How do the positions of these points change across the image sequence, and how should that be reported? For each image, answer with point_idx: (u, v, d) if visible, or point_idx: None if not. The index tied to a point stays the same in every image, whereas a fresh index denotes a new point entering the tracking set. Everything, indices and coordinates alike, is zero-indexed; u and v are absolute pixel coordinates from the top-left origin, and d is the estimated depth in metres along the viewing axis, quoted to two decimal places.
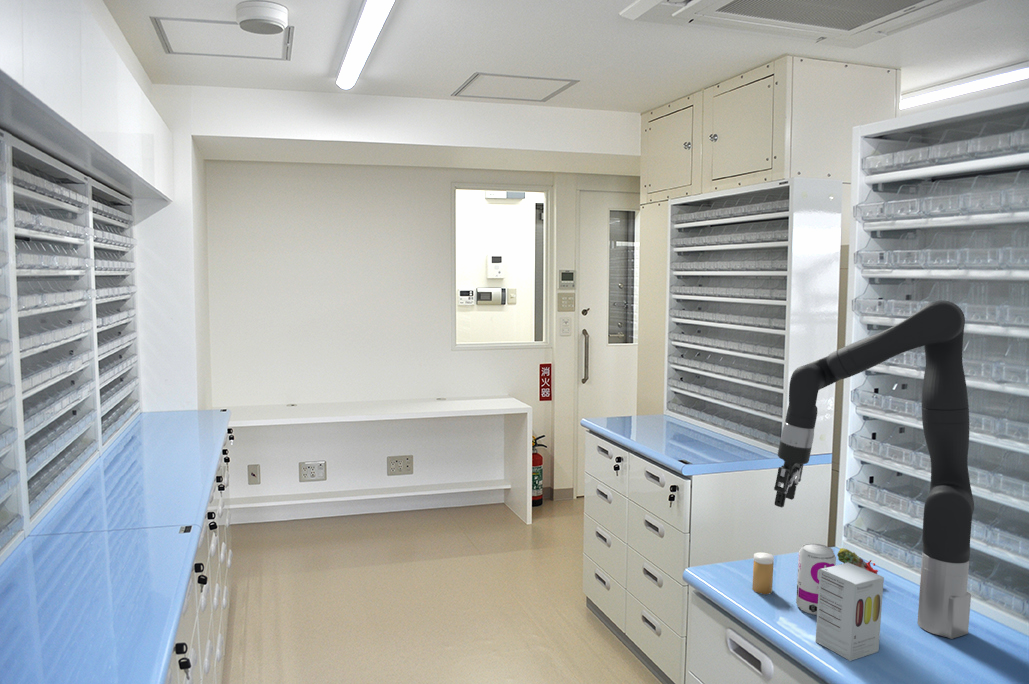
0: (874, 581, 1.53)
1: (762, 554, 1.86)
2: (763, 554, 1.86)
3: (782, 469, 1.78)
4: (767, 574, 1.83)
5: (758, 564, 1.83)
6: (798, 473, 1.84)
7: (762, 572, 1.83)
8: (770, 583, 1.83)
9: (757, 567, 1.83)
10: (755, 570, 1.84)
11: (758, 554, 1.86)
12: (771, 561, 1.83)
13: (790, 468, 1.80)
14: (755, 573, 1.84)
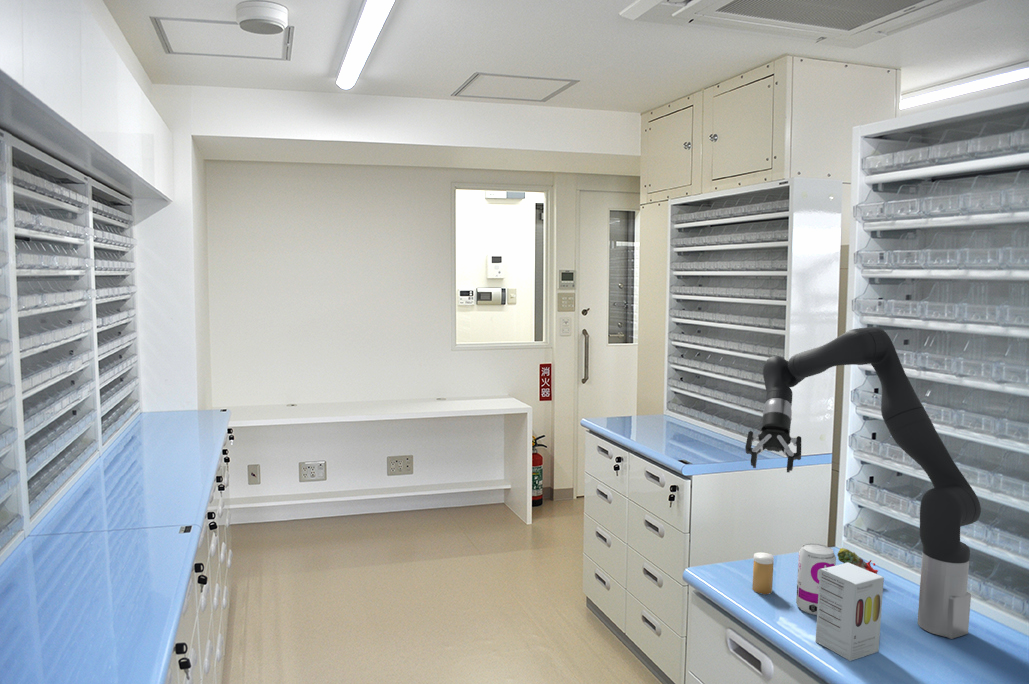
0: (874, 581, 1.53)
1: (762, 554, 1.86)
2: (763, 554, 1.86)
3: None
4: (767, 574, 1.83)
5: (758, 564, 1.83)
6: (778, 440, 1.96)
7: (762, 572, 1.83)
8: (770, 583, 1.83)
9: (757, 567, 1.83)
10: (755, 570, 1.84)
11: (758, 554, 1.86)
12: (771, 561, 1.83)
13: (759, 433, 2.00)
14: (755, 573, 1.84)
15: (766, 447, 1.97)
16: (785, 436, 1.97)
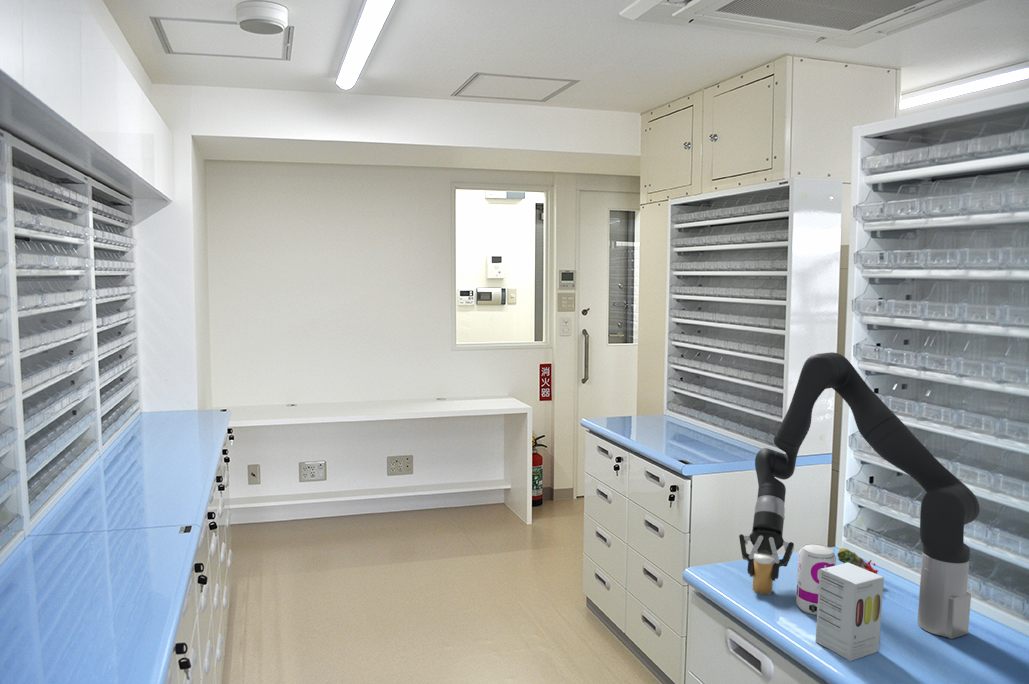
0: (874, 581, 1.53)
1: (762, 554, 1.86)
2: (763, 554, 1.86)
3: None
4: (767, 574, 1.83)
5: (758, 564, 1.83)
6: (769, 542, 1.87)
7: (762, 572, 1.83)
8: (770, 583, 1.83)
9: (757, 567, 1.83)
10: (755, 570, 1.84)
11: (758, 554, 1.86)
12: (771, 561, 1.83)
13: (750, 534, 1.91)
14: (755, 573, 1.84)
15: (761, 550, 1.87)
16: (778, 538, 1.88)
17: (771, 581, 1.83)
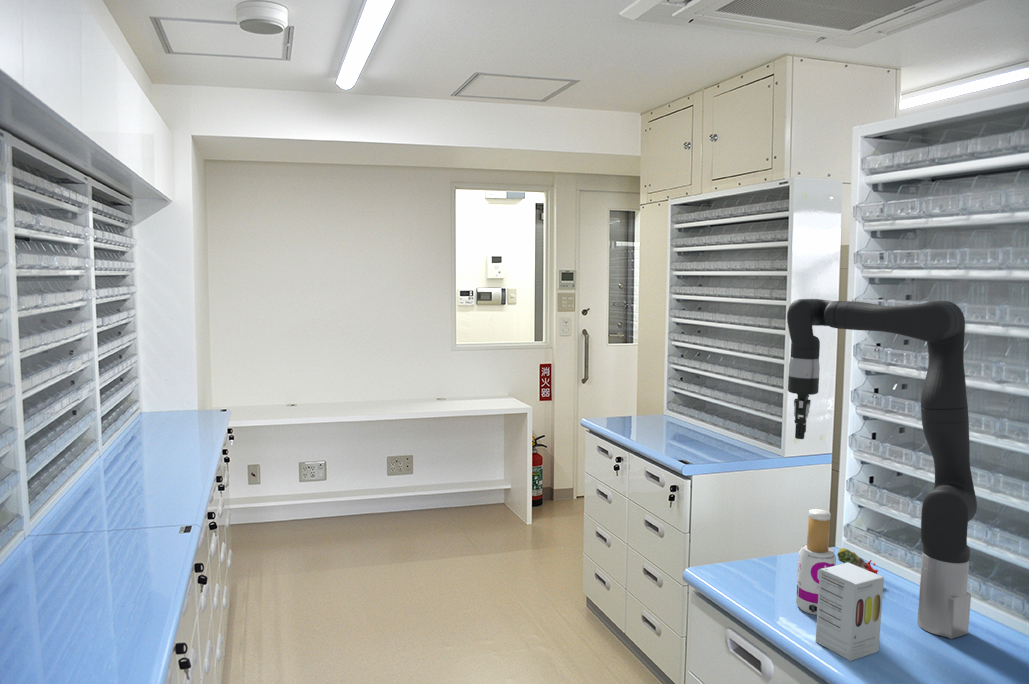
0: (874, 581, 1.53)
1: (817, 510, 1.74)
2: (819, 510, 1.74)
3: (799, 401, 1.85)
4: (824, 531, 1.71)
5: (814, 520, 1.72)
6: None
7: (818, 529, 1.71)
8: (827, 541, 1.72)
9: (813, 524, 1.72)
10: (810, 527, 1.73)
11: (813, 510, 1.74)
12: (828, 517, 1.71)
13: (805, 400, 1.87)
14: (811, 530, 1.73)
15: None
16: (807, 397, 1.93)
17: (828, 539, 1.72)
